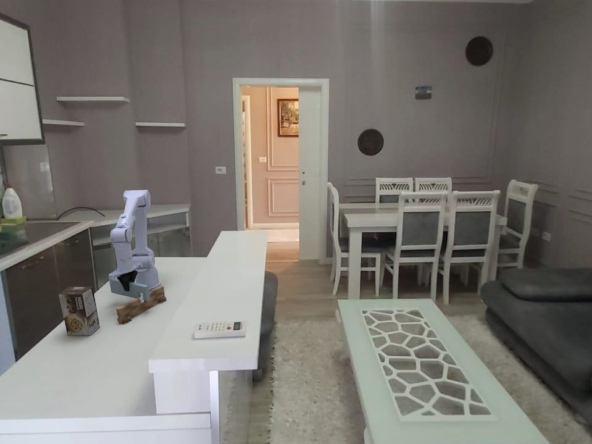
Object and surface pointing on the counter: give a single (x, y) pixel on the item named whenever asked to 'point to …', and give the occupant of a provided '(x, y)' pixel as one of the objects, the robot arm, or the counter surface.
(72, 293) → the coffee box
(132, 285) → the grey notched plate
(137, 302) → the walnut slotted plate
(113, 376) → the counter surface
